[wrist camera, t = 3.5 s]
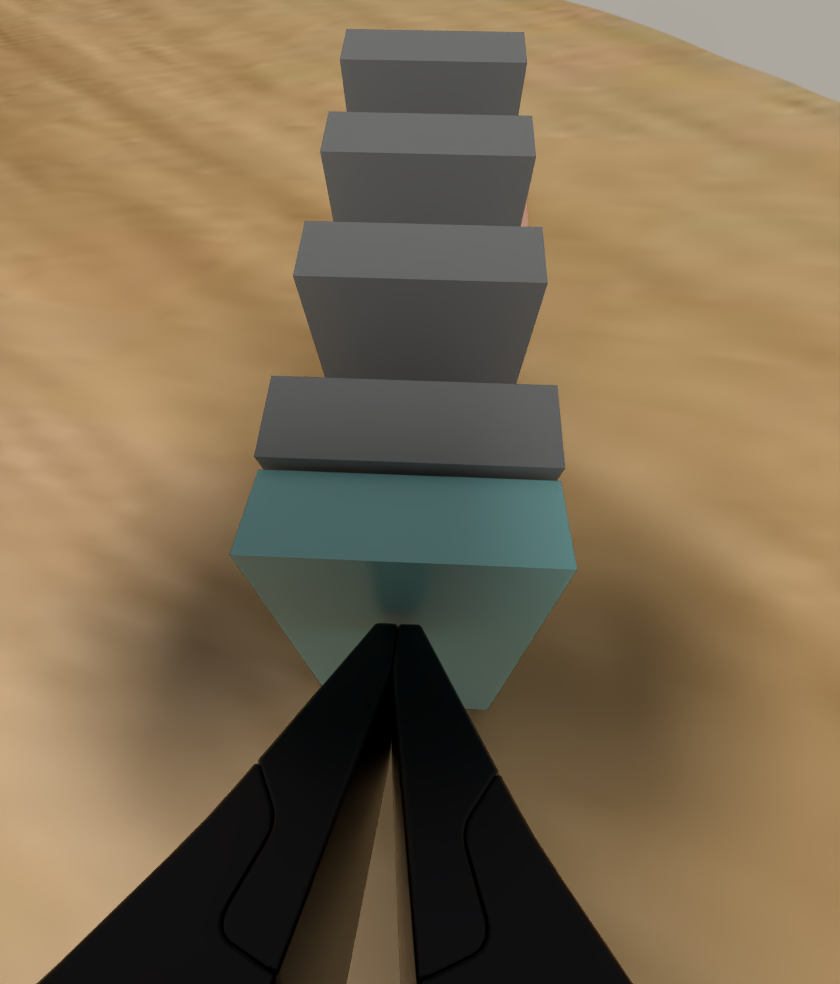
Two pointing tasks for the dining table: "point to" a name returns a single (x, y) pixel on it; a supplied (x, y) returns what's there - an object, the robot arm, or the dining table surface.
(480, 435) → the domino
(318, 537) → the domino
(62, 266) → the dining table surface
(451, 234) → the domino
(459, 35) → the domino
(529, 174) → the domino
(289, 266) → the dining table surface
